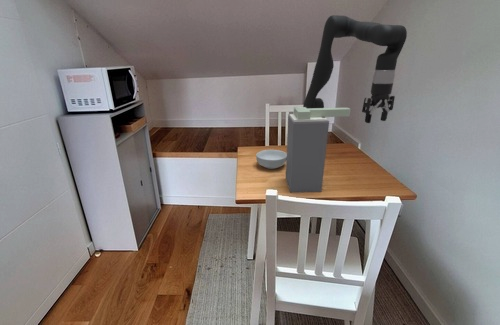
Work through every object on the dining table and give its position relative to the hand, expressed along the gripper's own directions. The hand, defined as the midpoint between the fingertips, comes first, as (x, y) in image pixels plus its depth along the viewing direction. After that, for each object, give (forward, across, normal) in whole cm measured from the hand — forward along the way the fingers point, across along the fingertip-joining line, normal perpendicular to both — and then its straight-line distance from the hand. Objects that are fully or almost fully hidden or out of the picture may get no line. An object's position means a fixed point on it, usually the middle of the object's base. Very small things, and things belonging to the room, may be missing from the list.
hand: (375, 121), depth 103 cm
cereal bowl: (+30, +32, -35) cm, 56 cm away
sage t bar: (-3, +22, -7) cm, 24 cm away
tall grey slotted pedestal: (+29, +28, -9) cm, 42 cm away
